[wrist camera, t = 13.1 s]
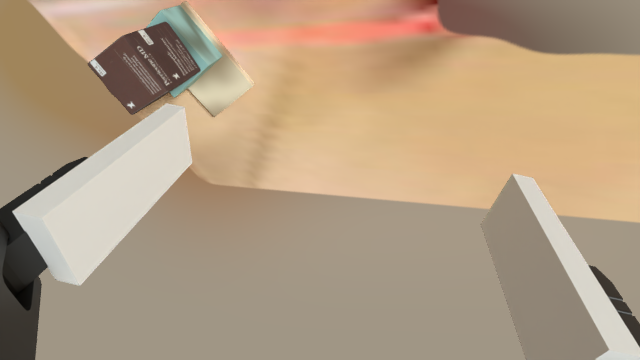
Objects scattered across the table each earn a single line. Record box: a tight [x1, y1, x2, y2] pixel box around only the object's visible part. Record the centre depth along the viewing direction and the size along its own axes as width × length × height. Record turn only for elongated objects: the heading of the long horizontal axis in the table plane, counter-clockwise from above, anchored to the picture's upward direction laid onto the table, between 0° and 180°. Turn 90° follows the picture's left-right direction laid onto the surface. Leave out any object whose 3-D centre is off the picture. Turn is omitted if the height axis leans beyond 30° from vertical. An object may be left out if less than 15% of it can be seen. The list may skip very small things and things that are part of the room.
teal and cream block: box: [146, 1, 255, 117], centre depth 40 cm, size 12×8×5 cm, turn 37°
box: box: [88, 22, 201, 115], centre depth 34 cm, size 6×6×7 cm
